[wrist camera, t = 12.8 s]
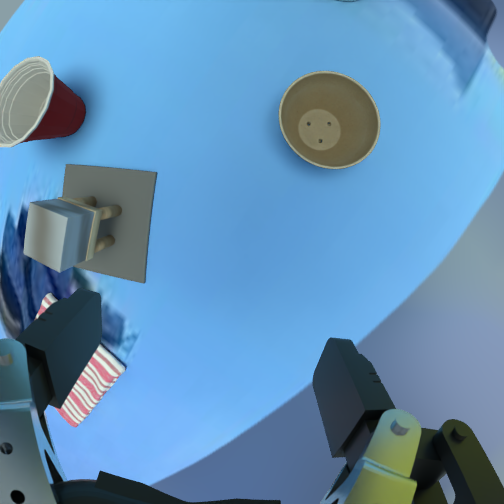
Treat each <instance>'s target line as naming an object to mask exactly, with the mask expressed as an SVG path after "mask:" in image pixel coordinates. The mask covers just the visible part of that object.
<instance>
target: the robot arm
mask: <svg viewBox="0 0 504 504" xmlns="http://www.w3.org/2000/svg"><path fill="white" fill-rule="evenodd" d="M340 1H356V0H340ZM101 337H102V317H101V296H100V294H99V293H97V292H93V291H89V290H86V289H82V288H79V289H77V290H76V291H75V292H74V293H73V294H72V295H71V296H70V297H69V298H68V299H67V298H63V299H61V300H58V301H56V302H54V303H52V304H51V305H50V306H49V307H48V308H47V309H46V310H45V312H43V313H42V314H41V315H40V316H39V317H38V319H35V320H34V321H33V322H32V323H31V324H30V325H29V326H28V327H27V328H26V329H25V330H24V331H23V332H22V333H21V334H20V335H19V336H18V338H17V339H16V340H14V339H0V504H281V502H280V500H250V499H230V500H220V501H208V502H194V503H192V502H185V501H182V500H180V499H177V498H175V497H172V496H170V495H168V494H165V493H163V492H160V491H159V490H156V489H154V488H152V487H150V486H148V485H145V484H143V483H140V482H136V481H133V480H129V479H126V478H122V477H119V476H116V475H112V474H109V473H106V472H103V471H100V472H99V475H98V478H97V480H90V479H79V480H69V481H67V478H66V476H65V474H64V472H63V469H62V467H61V465H60V462H59V460H58V457H57V453H56V450H55V447H54V444H53V440H52V437H51V433H50V429H49V425H48V421H47V417H46V414H45V409H46V408H47V406H48V404H49V405H51V406H54V407H56V408H58V409H61V407H62V405H63V404H64V402H65V400H66V399H67V397H68V395H69V393H70V392H71V390H72V388H73V387H74V385H75V383H76V382H77V380H78V378H79V377H80V375H81V374H82V372H83V370H84V369H85V367H86V366H87V364H88V362H89V361H90V359H91V358H92V356H93V354H94V353H95V351H96V350H97V348H98V346H99V344H100V341H101ZM376 374H377V373H376V371H375V369H374V367H373V365H372V363H371V362H370V361H368V360H367V359H366V358H365V357H364V356H363V355H362V354H359V353H358V351H357V349H356V348H355V346H354V344H353V342H352V341H351V340H349V339H340V338H329V339H328V341H327V343H326V345H325V348H324V350H323V352H322V355H321V357H320V360H319V362H318V364H317V367H316V369H315V371H314V375H313V388H314V392H315V395H316V399H317V403H318V406H319V410H320V414H321V417H322V421H323V425H324V428H325V432H326V436H327V440H328V443H329V447H330V451H331V455H332V458H334V457H346V461H347V462H346V464H345V465H344V466H343V467H342V469H341V471H340V472H339V474H338V476H337V478H336V479H335V481H334V483H333V484H332V486H331V487H330V489H329V490H328V492H327V493H326V495H325V497H324V498H323V500H322V501H321V503H320V504H448V503H447V500H446V498H445V495H444V493H443V490H442V488H441V485H440V483H439V480H440V479H441V478H442V477H443V476H444V475H445V474H446V473H447V475H448V477H449V480H450V482H451V484H452V487H453V489H454V491H455V501H454V503H453V504H504V488H503V485H502V484H501V482H500V480H499V478H498V476H497V474H496V472H495V470H494V468H493V466H492V464H491V463H490V461H489V459H488V457H487V456H486V453H485V452H484V450H483V448H482V447H481V445H480V443H479V441H478V440H477V438H476V436H475V434H474V433H473V431H472V430H471V429H470V427H469V426H468V425H467V424H465V423H464V422H461V421H459V420H455V419H451V420H447V421H446V422H445V423H444V424H443V425H442V426H441V428H440V429H439V430H433V429H426V428H421V426H420V424H419V422H418V420H417V419H416V418H415V417H414V416H413V415H411V414H410V413H408V412H406V411H403V410H399V409H396V408H395V406H394V404H393V402H392V400H391V399H390V397H389V395H388V393H387V391H386V390H385V387H384V386H383V384H382V383H381V380H380V378H379V376H378V375H376Z"/></svg>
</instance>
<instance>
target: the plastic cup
mask: <svg viewBox="0 0 504 504" xmlns="http://www.w3.org/2000/svg"><path fill="white" fill-rule="evenodd" d="M85 113H86V111H85V105H84V103H83V101H82V100H81V98H80V97H78V96H77V95H76V94H75V93H73V91H72V90H71V89H70V88H69V87H67V86H66V85H65V84H64V83H63V82H62V81H61V80H59V79H58V78H57V77H56V75H55V74H54V72H53V70H52V68H51V65H50V63H49V61H48V60H46V59H44V58H42V57H40V56H37V57H31V58H27V59H25V60H23V61H22V62H20V63H19V64H17V65H16V66H14V67H13V68H12V69H11V71H10V72H9V73H8V74H7V75H6V76H5V77H4V78H3V80H2V81H1V83H0V147H13V146H15V145H17V144H19V143H23V142H28V141H33V140H42V139H52V138H56V137H66V136H69V135H71V134H73V133H75V132H76V131H77V130H78V129H79V128H80V126H81V125H82V123H83V121H84V117H85Z"/></svg>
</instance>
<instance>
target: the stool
mask: <svg viewBox="0 0 504 504" xmlns="http://www.w3.org/2000/svg"><path fill="white" fill-rule="evenodd" d="M96 204H97V200H96V198H95V197H93V196H92V197H83V198H74V199H70V198H68V197H58V199H51V200H43V201H36V202H30V205H29V211H28V218H27V226H26V234H25V244H24V254H25V255H27V256H29V257H31V258H33V259H35V260H37V261H38V262H40V263H42V264H44V265H46V266H48V267H50V268H52V269H54V270H56V271H58V272H62V271H64V270H66V269H68V268H70V267H72V266H74V265H76V264H78V263H80V262H83V261H88V260H90V259H92V258H93V255H94V253H96V252H98V251H100V250H103V249H105V248H107V247H110V246H112V245H113V244H114V243H115V238H114V237H113V236H112V235H108V236H105V237H102V238H99V239H97V234H98V229H99V224H100V220H104V219H108V218H112V217H116V216H119V215H121V213H122V208H121V207H120V206H119V205H114V206H108V207H102V208H95V206H96ZM96 239H97V240H96Z"/></svg>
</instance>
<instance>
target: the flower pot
mask: <svg viewBox="0 0 504 504" xmlns="http://www.w3.org/2000/svg"><path fill="white" fill-rule="evenodd" d="M328 122H330V123H329V124H328ZM279 123H280V128H281V131H282V134H283V136H284V138H285V140H286V142H287V143H288V145H289V146H290V147H291V149H292V150H293V151H294V152H295V153H296V154H297V155H298V156H300V157H301V158H302V159H304V160H305V161H307V162H309V163H311V164H313V165H316V166H319V167H323V168H328V169H342V168H347V167H350V166H353V165H355V164H357V163H359V162H361V161H362V160H364V159H365V158H366V157H367V156H368V155H369V154H370V153H371V152H372V150H373V149H374V147H375V145H376V143H377V141H378V138H379V134H380V116H379V111H378V108H377V106H376V103H375V101H374V100H373V98H372V96H371V95H370V94H369V92H368V91H367V90H366V89H365V88H364V87H363V86H362V85H361V84H360V83H358V82H357V81H356V80H354V79H352V78H351V77H349V76H346V75H344V74H341V73H338V72H332V71H317V72H312V73H308V74H306V75H304V76H302V77H300V78H298V79H297V80H295V81H294V82H293V83H292V84H291V85H290V86H289V87H288V88H287V90H286V91H285V93H284V95H283V97H282V99H281V102H280V106H279ZM307 124H309V125H310V126H308V125H307ZM321 140H322V142H321Z"/></svg>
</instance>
